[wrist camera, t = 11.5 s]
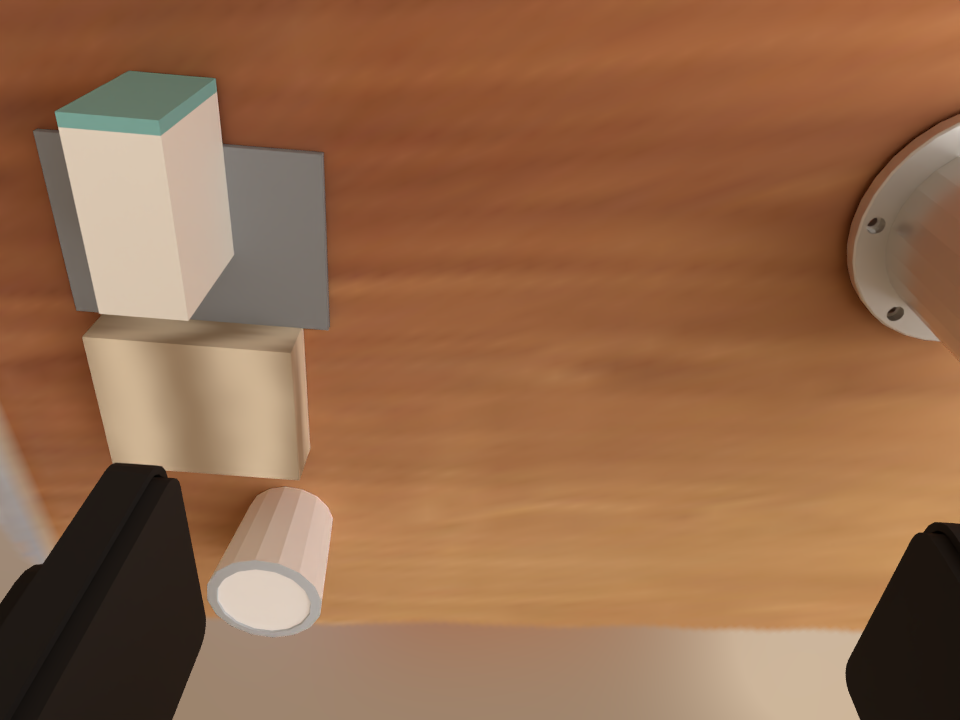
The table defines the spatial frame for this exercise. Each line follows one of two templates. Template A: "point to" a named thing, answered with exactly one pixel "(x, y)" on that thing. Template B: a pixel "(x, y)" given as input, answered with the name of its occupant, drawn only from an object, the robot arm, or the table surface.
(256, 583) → the pale pink cylinder
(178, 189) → the cream block
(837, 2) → the table surface
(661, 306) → the table surface
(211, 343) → the birch step
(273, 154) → the grey mat
